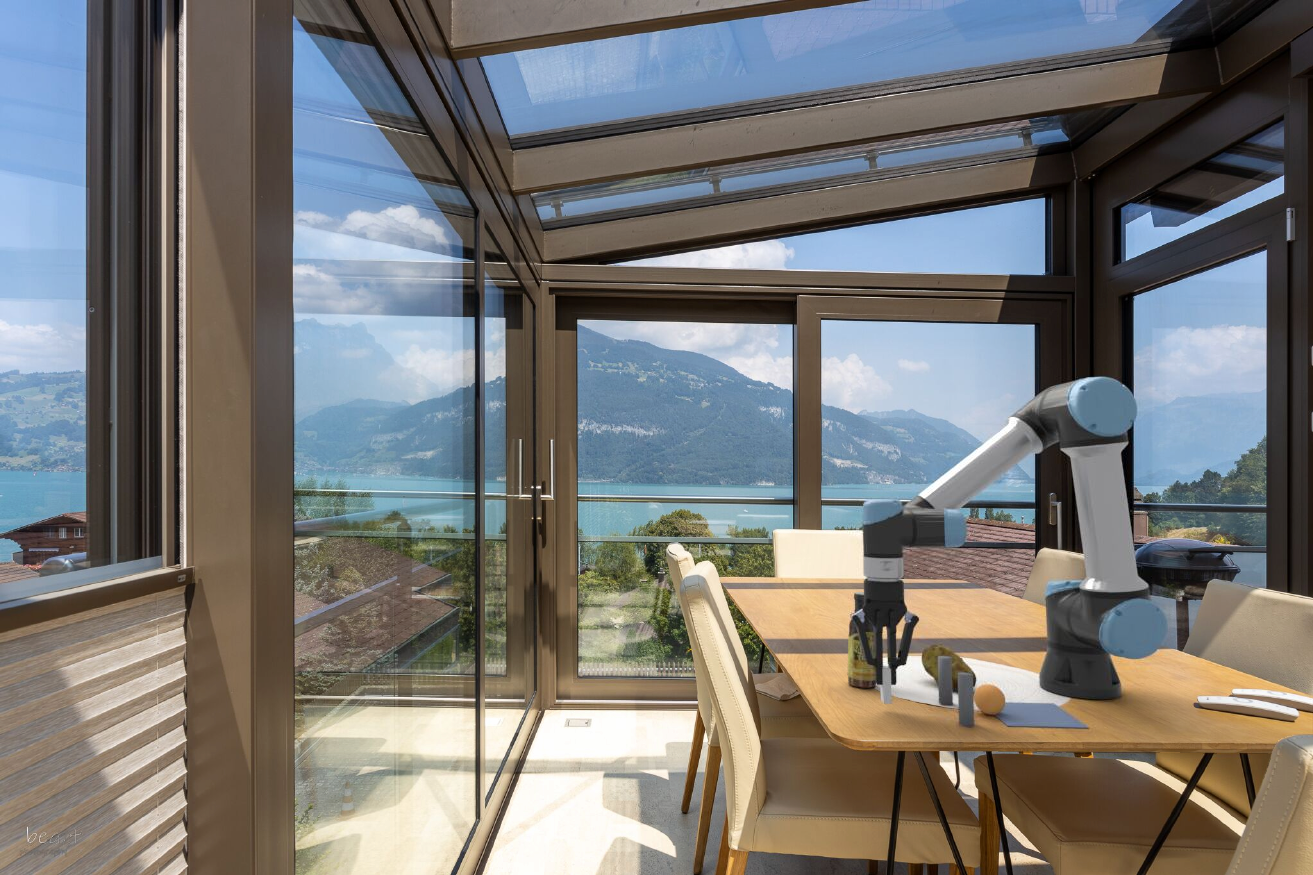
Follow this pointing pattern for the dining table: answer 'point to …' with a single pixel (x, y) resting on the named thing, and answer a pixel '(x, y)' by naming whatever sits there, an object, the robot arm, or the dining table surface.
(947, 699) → the post
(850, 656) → the sauce bottle
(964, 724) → the post
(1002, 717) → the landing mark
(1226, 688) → the dining table surface
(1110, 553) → the robot arm
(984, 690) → the ball
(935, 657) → the potato
